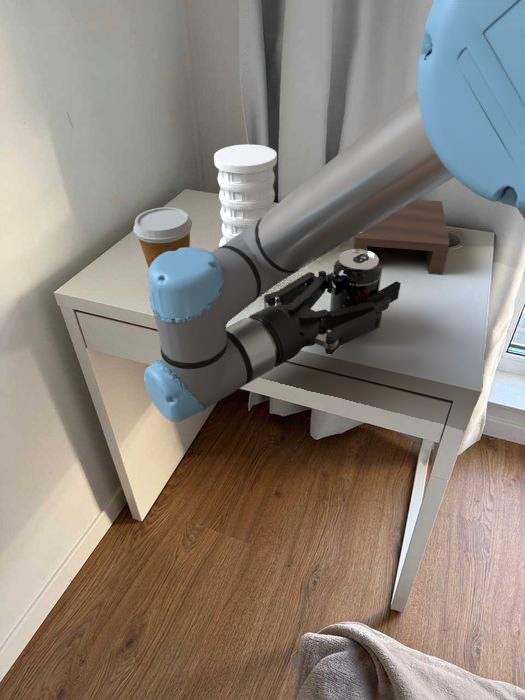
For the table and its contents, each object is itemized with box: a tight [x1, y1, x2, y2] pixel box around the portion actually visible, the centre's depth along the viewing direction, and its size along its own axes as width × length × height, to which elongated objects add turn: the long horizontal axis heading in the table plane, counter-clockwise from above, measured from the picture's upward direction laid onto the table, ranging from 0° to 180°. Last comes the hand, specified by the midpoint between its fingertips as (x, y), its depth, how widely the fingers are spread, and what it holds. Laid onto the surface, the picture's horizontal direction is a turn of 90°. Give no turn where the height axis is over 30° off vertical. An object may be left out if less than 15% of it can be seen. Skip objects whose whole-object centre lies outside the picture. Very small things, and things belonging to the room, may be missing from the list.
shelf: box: [352, 199, 451, 276], centre depth 94 cm, size 18×16×6 cm
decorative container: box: [213, 143, 278, 248], centre depth 91 cm, size 12×12×18 cm
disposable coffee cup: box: [133, 206, 193, 269], centre depth 84 cm, size 10×10×12 cm
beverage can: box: [329, 248, 383, 311], centre depth 73 cm, size 7×7×12 cm
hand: (377, 279), depth 75 cm, fingers closed on beverage can, 7 cm apart
